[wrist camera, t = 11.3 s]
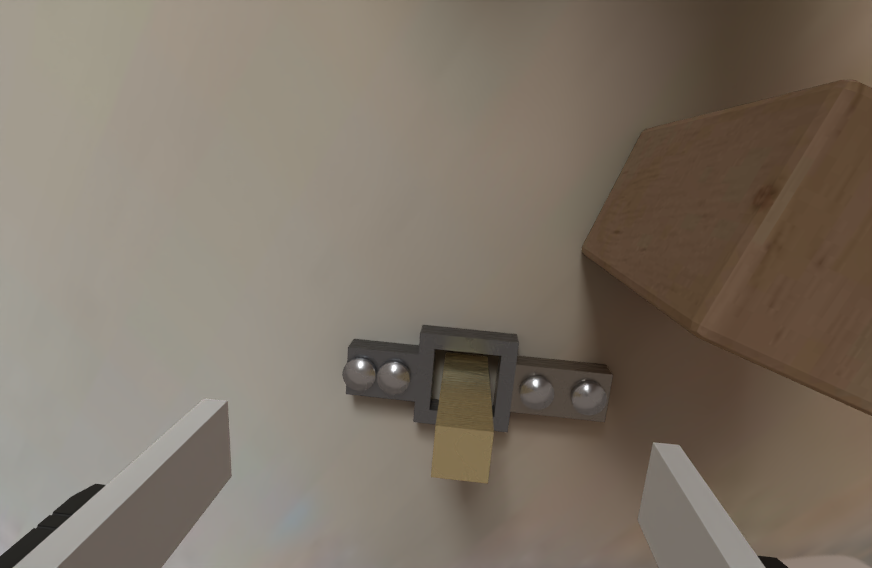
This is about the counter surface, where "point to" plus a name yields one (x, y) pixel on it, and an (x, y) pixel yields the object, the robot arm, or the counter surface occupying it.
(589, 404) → the ball-studded metal bracket
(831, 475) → the counter surface
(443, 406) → the pin
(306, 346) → the counter surface
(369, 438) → the counter surface
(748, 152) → the wooden block
